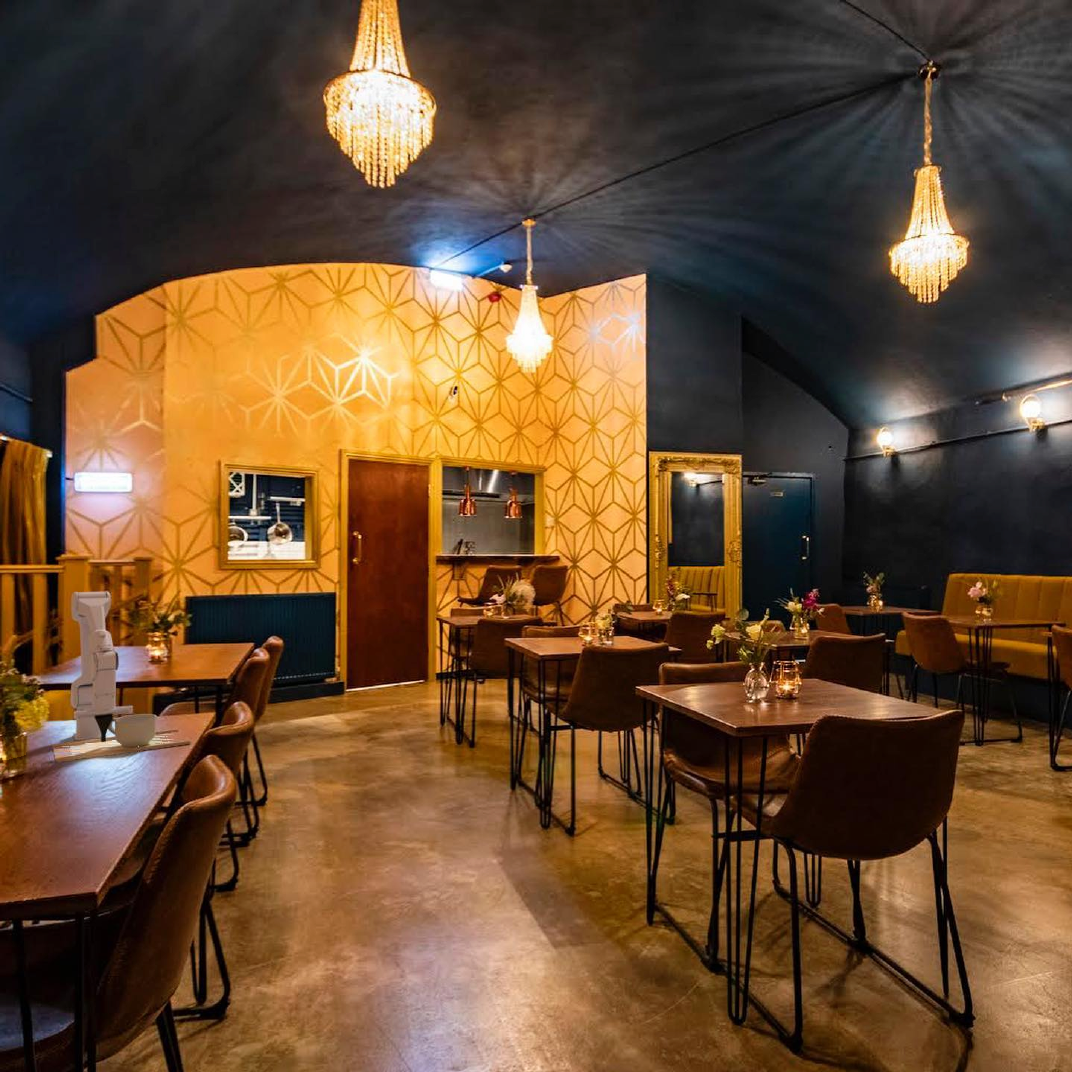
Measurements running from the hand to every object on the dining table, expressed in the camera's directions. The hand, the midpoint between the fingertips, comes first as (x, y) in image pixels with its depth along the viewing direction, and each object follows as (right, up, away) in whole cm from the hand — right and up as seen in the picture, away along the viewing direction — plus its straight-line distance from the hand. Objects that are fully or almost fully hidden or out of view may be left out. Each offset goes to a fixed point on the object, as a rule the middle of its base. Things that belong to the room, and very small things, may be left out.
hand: (103, 741), depth 214 cm
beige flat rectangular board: (+4, -2, +3) cm, 5 cm away
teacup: (+6, -2, +3) cm, 7 cm away
